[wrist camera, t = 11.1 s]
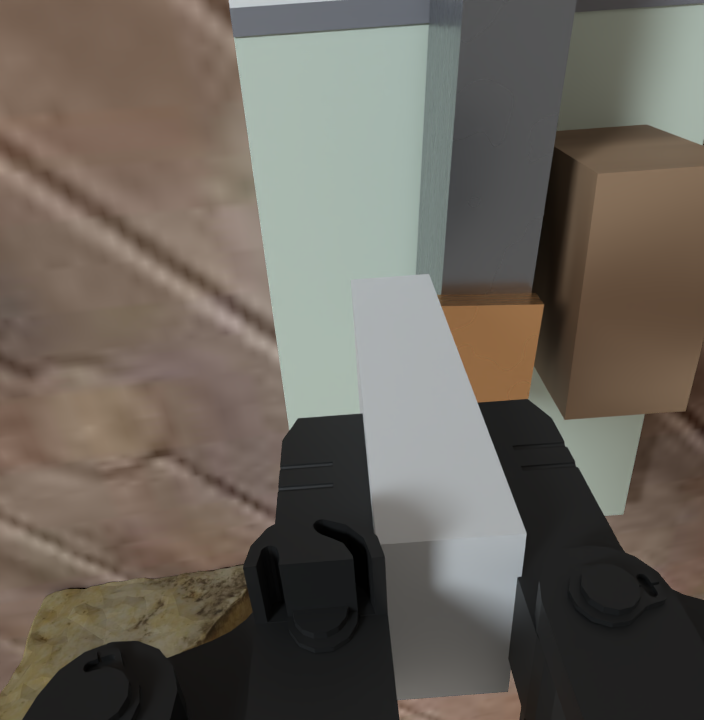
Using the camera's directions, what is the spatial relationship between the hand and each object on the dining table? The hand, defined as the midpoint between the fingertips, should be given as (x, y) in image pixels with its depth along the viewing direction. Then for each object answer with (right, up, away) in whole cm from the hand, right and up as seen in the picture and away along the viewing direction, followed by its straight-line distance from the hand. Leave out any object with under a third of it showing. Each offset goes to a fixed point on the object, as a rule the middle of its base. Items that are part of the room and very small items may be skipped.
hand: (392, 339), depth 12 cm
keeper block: (+6, +3, +5) cm, 8 cm away
